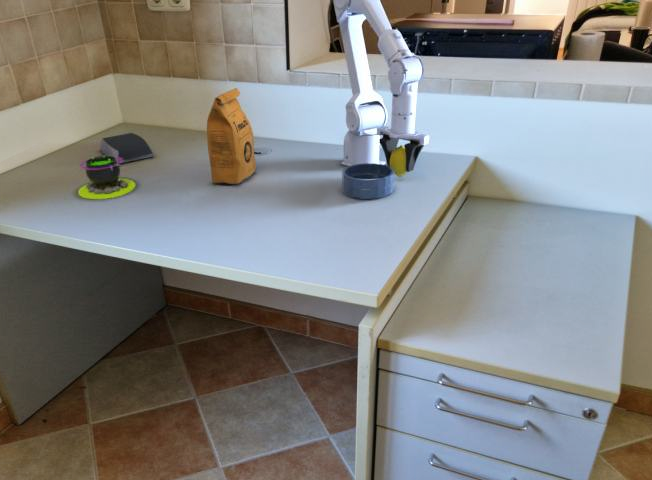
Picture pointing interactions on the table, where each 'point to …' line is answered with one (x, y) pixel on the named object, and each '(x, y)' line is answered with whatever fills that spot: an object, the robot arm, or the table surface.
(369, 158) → the robot arm
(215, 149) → the coffee package
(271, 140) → the table surface
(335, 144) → the table surface
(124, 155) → the hard drive
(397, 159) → the lemon
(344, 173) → the bowl
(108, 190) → the toy cauldron
